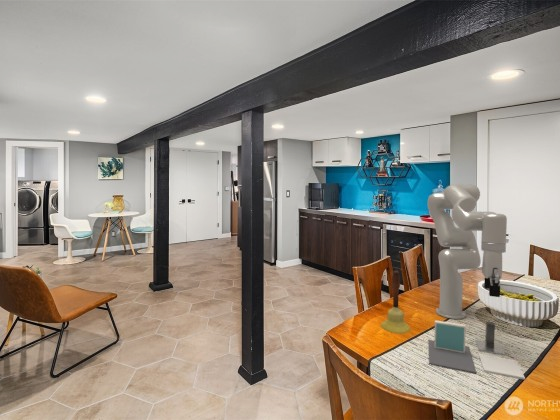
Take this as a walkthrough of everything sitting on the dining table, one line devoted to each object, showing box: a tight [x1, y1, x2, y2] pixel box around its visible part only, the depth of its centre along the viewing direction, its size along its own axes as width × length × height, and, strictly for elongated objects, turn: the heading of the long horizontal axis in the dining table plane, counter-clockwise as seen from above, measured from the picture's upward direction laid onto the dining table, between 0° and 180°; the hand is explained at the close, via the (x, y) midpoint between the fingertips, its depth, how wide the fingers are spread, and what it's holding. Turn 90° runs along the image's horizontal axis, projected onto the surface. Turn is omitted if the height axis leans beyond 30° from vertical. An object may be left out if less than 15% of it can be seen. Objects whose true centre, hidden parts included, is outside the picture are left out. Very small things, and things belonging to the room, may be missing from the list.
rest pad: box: [478, 353, 526, 381], centre depth 106 cm, size 11×11×1 cm
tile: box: [433, 320, 467, 353], centre depth 117 cm, size 2×10×10 cm, turn 65°
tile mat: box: [427, 339, 477, 375], centre depth 114 cm, size 18×14×1 cm
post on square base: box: [475, 321, 506, 357], centre depth 118 cm, size 8×8×10 cm
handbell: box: [380, 270, 411, 335], centre depth 136 cm, size 12×12×25 cm
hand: (491, 292), depth 117 cm, fingers open, 9 cm apart
